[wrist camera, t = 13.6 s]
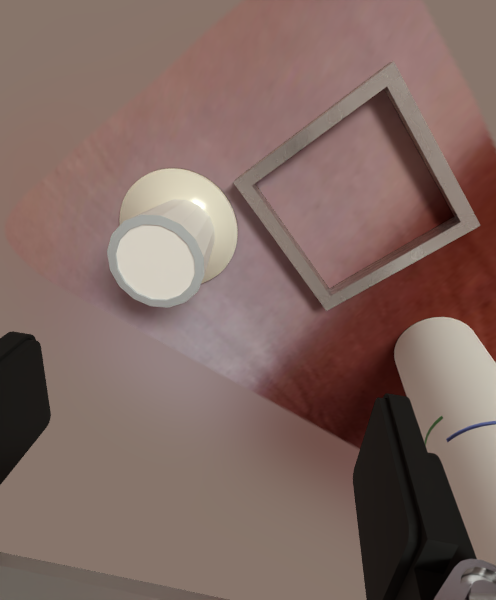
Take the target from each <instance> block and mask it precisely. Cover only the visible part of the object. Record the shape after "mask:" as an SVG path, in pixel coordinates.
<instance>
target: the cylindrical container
mask: <svg viewBox="0 0 496 600" xmlns="http://www.w3.org/2000/svg"><path fill="white" fill-rule="evenodd" d="M394 359H395V363H396V366H397V369H398V372H399V375H400V378H401V381H402V384H403V387H404V390H405V393H406V396H407V397H408V398H409V399H410V402H411V404H412V407H413V410H414V413H415V416H416V419H417V422H418V425H419V428H420V431H421V434H422V437H423V440H424V443H425V446H426V449H427V452H428V453H434V454H436V455H437V456H438V457H439V458H440V460H441V462H442V465H443V468H444V470H445V473H446V476H447V479H448V481H449V484H450V487H451V490H452V492H453V495H454V498H455V500H456V503H457V506H458V509H459V511H460V514H461V517H462V519H463V522H464V525H465V528H466V530H467V533H468V536H469V538H470V541H471V544H472V547H473V549H474V552H475V555H476V558H477V559H478V560H483V561H486V562H488V563H491V564H494V565H495V566H496V363H495V361H494V360H493V359H492V357H491V356H490V354H489V353H488V351H487V350H486V349H485V347H484V346H483V344H482V343H481V341H480V340H479V339H478V337H477V336H476V334H475V333H474V332H473V330H472V329H471V328H470V327H469V326H468V325H466V324H465V323H463V322H461V321H459V320H456V319H453V318H446V317H435V318H429V319H425V320H422V321H420V322H417V323H416V324H414V325H412V326H410V327H409V328H408V329H407V330H406V331H404V333H403V334H402V335H401V336H400V337H399V339H398V341H397V343H396V346H395V349H394Z"/></svg>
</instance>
